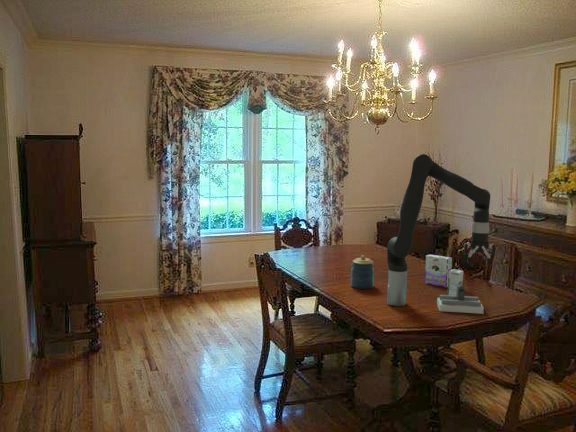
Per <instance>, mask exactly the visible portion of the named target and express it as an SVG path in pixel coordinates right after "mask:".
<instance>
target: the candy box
mask: <svg viewBox="0 0 576 432" xmlns="http://www.w3.org/2000/svg"><path fill="white" fill-rule="evenodd" d="M424 261H425V262H424V263H425V264H424V282H423V283H424V284H426V285H432V286H437V287H442V288H448V276H449V271H451V270H453V268H452V266H453V257H450V256H443V255H436V254H431V253H430V254H426V255H425V259H424Z"/></svg>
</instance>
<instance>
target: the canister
mask: <svg viewBox="0 0 576 432" xmlns="http://www.w3.org/2000/svg"><path fill="white" fill-rule="evenodd" d="M373 263H374V261H373V260H371V259H370V258H367V257H366V255H363V254H362V255H361V256H360V257H356V258H355V259H352V263H351V264H350V266H351V270H350V286H351V287H352V288H355V289H360V290H366V289H372V288H374V284H375V282H374V281H375V270H374V268H375V265H374V264H373Z"/></svg>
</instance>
